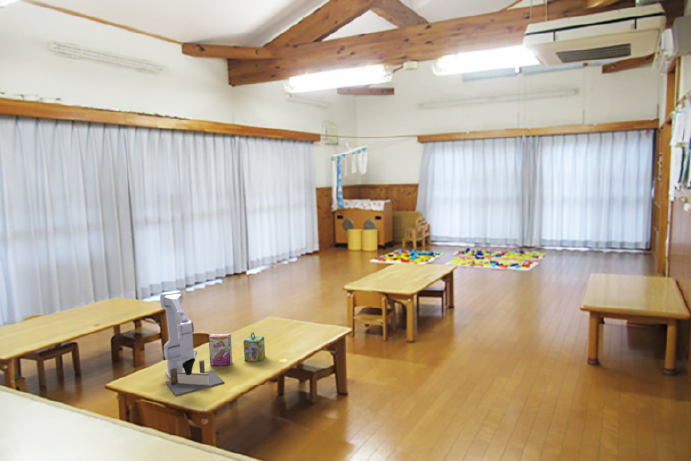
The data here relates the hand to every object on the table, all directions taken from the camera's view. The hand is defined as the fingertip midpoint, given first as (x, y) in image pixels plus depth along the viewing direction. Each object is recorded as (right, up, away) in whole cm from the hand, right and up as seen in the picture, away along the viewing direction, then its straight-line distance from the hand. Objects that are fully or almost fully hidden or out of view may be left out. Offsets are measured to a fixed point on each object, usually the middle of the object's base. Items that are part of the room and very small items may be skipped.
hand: (188, 374), depth 226 cm
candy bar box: (+7, -5, +34) cm, 35 cm away
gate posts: (-4, -7, +13) cm, 15 cm away
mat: (0, -7, +9) cm, 12 cm away
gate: (0, -6, +6) cm, 9 cm away
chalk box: (+24, -4, +40) cm, 47 cm away
